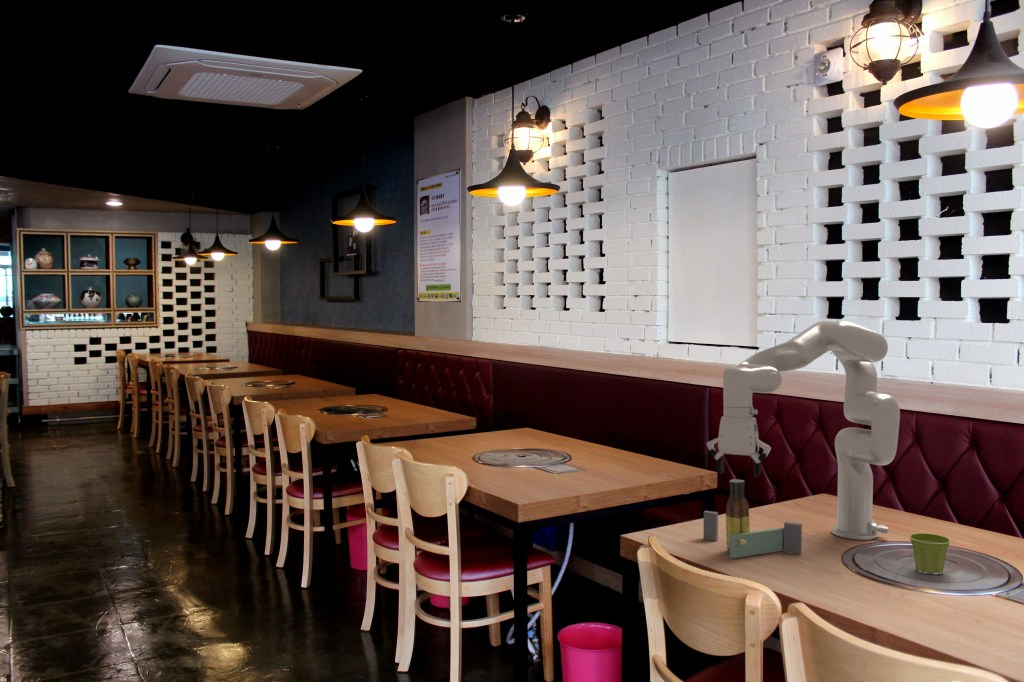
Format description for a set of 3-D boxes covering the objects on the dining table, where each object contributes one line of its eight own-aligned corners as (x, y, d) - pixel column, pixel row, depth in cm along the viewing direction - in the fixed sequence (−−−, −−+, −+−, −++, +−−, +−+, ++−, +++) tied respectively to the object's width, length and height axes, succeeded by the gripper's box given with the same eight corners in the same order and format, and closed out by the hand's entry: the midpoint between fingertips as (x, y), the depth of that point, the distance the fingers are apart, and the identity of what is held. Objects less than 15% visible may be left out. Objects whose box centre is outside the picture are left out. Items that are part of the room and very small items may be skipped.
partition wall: (801, 553, 219) (801, 523, 219) (800, 554, 218) (800, 525, 218) (705, 537, 234) (705, 510, 234) (703, 539, 233) (703, 511, 232)
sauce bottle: (746, 549, 223) (748, 478, 222) (752, 556, 217) (753, 483, 216) (723, 548, 223) (724, 477, 222) (728, 555, 217) (729, 482, 216)
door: (782, 548, 222) (782, 527, 222) (788, 551, 220) (789, 529, 220) (729, 557, 215) (729, 535, 214) (736, 560, 212) (736, 537, 212)
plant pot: (934, 580, 198) (935, 545, 197) (900, 569, 206) (901, 535, 206) (958, 574, 202) (959, 540, 202) (924, 563, 210) (924, 531, 210)
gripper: (774, 412, 216) (774, 475, 217) (711, 409, 226) (711, 469, 226) (766, 416, 210) (766, 481, 211) (702, 412, 219) (702, 474, 220)
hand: (738, 475), depth 219 cm, fingers open, 9 cm apart
